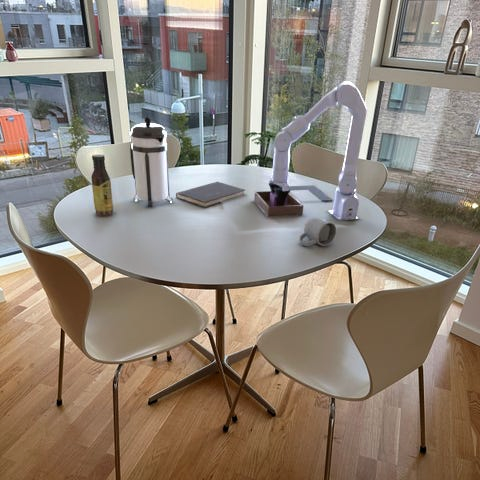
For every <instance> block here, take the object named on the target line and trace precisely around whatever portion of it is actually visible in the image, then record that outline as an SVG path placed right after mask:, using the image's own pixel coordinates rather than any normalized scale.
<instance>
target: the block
mask: <svg viewBox="0 0 480 480" xmlns="http://www.w3.org/2000/svg"><path fill="white" fill-rule="evenodd" d="M286 203H287V197H286V200H285V203H284V206H286ZM269 206H270V207H272V206H277V198H276V193H270V204H269Z"/></svg>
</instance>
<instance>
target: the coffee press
mask: <svg viewBox="0 0 480 480" xmlns="http://www.w3.org/2000/svg"><path fill="white" fill-rule="evenodd" d="M144 122H145V123H140V124H136V125H134V126H133V127H132V128H131V131H130V132H129V134H130V137H131V142H130V147H129V152H130V154H129V155H130V166H131V173H132V177H133V179H134V185H135V194H134V197H133V198H132V199H133V201H134V202H138V200H140V201H142V202H147V208H153V203H157V202H162V201H167V202H168V203H170V204H172V203H173V201H174V199H173V197H172V196H171V193H170V178H169V177H170V175H169V156H168V153H169V152H168V143H167V136H168V132H167V131H166V129H165V127H163V126H162V125H160V124H157V123H151V122H152V118H151V117H150V116H146V117H145V118H144ZM136 197H137V199H136ZM169 198H170V200H169Z"/></svg>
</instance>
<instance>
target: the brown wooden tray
mask: <svg viewBox="0 0 480 480" xmlns="http://www.w3.org/2000/svg"><path fill="white" fill-rule="evenodd" d="M270 193H271V190H267V191H266V190H265V191H263V190H262V191H254V203H255V204H256V205H257V206H258V207H259V208H260V210H261V211H262V212H263V213H264V214H265V215H266V217H268V218H273V217H288V216H289V217H290V216H303V213H304V204H302V203H301V202H300V201H299V200H298V199H297V198H296V197H295V196H294V195H293V194H292V193H290V192H289V194H288V195H287V203H286V206H272V207H270V206H269V204H270Z"/></svg>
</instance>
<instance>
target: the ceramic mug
mask: <svg viewBox="0 0 480 480" xmlns="http://www.w3.org/2000/svg"><path fill="white" fill-rule="evenodd" d="M336 235H337V226H336V224H335V223H334V222H332V221H329V220H326V219H324V218H321V217H317V216H316V217H315V216H313V217H311V218H309V219H308V220H307V221H306V223H305V224H304V228H303V233H302V234H301V235H300V236H299V243H300V244H301V246H305V247H309V246H312V245H315V244H317V245H319V246H320V247H326V246H329V245H330V244H332V243H333V242H334V240H335V238H336ZM305 238H307V239H309V240H307V241H303V240H304V239H305Z"/></svg>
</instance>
